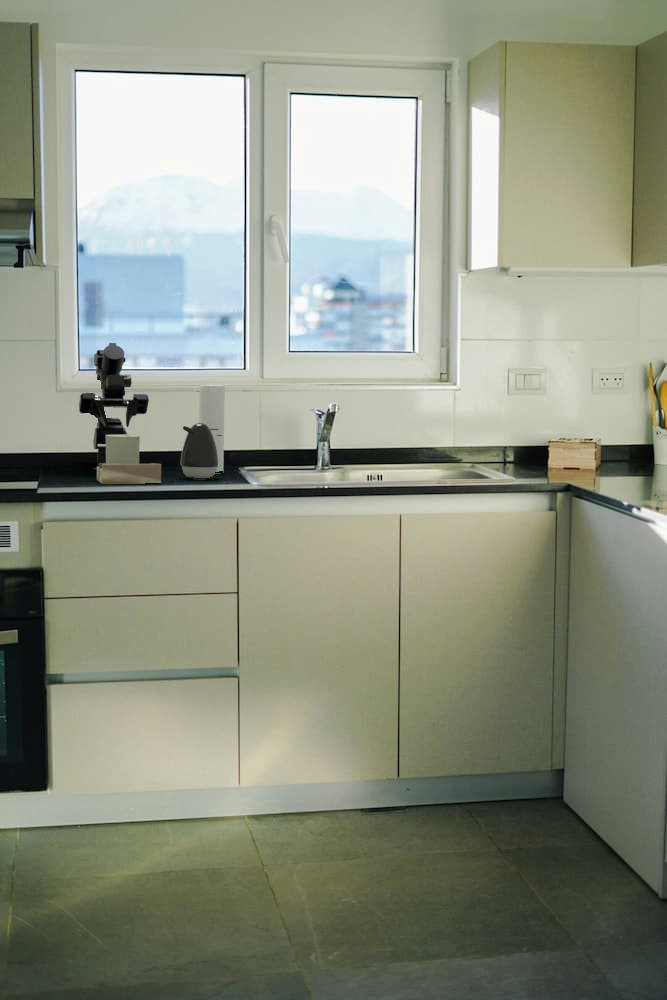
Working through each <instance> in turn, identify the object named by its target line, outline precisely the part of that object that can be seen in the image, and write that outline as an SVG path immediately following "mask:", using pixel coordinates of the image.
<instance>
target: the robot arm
mask: <svg viewBox="0 0 667 1000" xmlns="http://www.w3.org/2000/svg"><path fill="white" fill-rule="evenodd" d="M93 363H94V364H93V365H94V367H95V372H96V374H97V380H100V381H101V389H102V391H101V396H102V397H101V396H99V395H96V393H94V392H93V393H87V392H85V393H84V392H82V393H81V394H80V395H79V403H78V410H79V413H81V414H84V413H90V414H91V415H94V416H95V417H96V418H98V423H97V425H96V427H95V428H94V434H93V439H92V440H93V441H92V442H93V444H92V445H93V449H95V450H97V467H99V463H105V464H106V435H124V434H128V432H127V430H126V428H124V425H123V422H122V420H121V419H120V418H118V417H117V418H113V417H111V418H106V415H105V411H104V407H113V409H114V408H117V409H118V408H121V409H122V408H125V409H126V411H125V424H126V427H127V428H128V427H130V426H129V425H130V423H131V420H132V418H133V417H135V416H137V415H145V414H147V412H148V407H149V401H150V400H149V395H147V394H145V393H143V394H142V393H141V394H140V393H133V395H132V399H125V398H124V397H125V395H126V391H125V389H126V388H131V387H132V383H133V382H132V375H131V374H124V375H123V374H121V372H122V370H123V365H124V363H126V357H125V350H124V349H123V348H122V347H121V346H118V345H117V342H108V345H107V346H106V347H105V348H104V349H97V350H96V353H94V355H93ZM97 467H94V468H93V471H97Z"/></svg>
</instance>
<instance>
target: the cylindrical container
mask: <svg viewBox="0 0 667 1000" xmlns="http://www.w3.org/2000/svg"><path fill="white" fill-rule="evenodd" d="M225 389H226V388H225V385H215V384H213V385H211V384H206V385H205V384H203V385H199V409H198V411H199V412H198V413H199V417H198V421H199V422H198V423H203V424H205V425H207V426H208V427H209V429H210V431H211V433H212V435H213V438H214V441H215V444H216V448H217V454H218V466H217V470H216V472H219V471H223V472H224V460H225V459H224V452H225V448H224V446H225V444H224V443H225V441H224V440H225V435H224V434H225V398H226V397H225V393H226V391H225Z"/></svg>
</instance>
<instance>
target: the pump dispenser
mask: <svg viewBox="0 0 667 1000" xmlns="http://www.w3.org/2000/svg"><path fill="white" fill-rule="evenodd" d="M182 430H183V431H185V432H186V433H187V435H186V437H185V440H184V443H183V446H182V452H181V456H180V466H181V469H182V472H183V474H184V475H185V476H186V477H187V478H188V477H194V478H209V479H211V478H213V477H214V475H215V474H216V473H215V472H216V470H217V466H218V454H217V448H216V444H215V441H214V438H213V435H212V433H211V431H210V429H209V427H208V426H207V425H205V424H203V423H199V422H197V423H194V424H193V425H192V426H191V427H189V426H186V425H184V426H183V427H182ZM210 477H211V478H210Z"/></svg>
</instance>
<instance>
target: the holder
mask: <svg viewBox="0 0 667 1000" xmlns="http://www.w3.org/2000/svg"><path fill="white" fill-rule="evenodd" d="M96 468H97V470H96V481H98V482H99V483H100V484H102V485H131V484H132V485H140V484H141V485H142V484H143V485H145V483H161V484H162V464H161V463H157V462H151V463H139V464H105V463H99V467H98V466H96Z"/></svg>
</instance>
